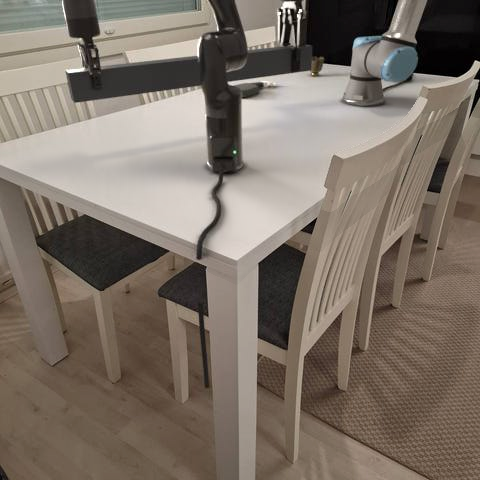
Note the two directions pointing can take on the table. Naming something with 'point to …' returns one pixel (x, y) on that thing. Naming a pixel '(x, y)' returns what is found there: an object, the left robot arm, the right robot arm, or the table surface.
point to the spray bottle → (252, 87)
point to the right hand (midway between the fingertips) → (290, 69)
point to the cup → (316, 65)
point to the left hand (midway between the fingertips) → (95, 87)
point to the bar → (177, 73)
